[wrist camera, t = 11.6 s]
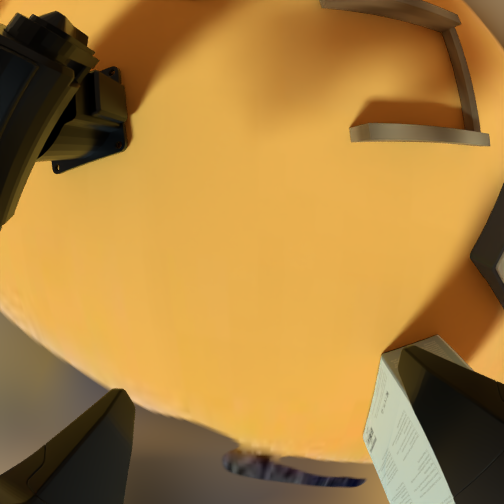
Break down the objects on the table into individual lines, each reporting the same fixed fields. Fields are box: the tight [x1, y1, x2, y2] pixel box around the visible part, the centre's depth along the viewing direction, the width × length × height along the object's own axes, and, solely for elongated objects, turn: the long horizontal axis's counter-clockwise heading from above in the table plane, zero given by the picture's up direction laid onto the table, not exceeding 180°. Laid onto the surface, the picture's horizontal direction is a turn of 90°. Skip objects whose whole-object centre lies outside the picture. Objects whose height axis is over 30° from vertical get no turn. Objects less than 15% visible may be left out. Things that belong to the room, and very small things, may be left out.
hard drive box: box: [363, 335, 473, 504], centre depth 15 cm, size 16×8×20 cm, turn 9°
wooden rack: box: [319, 0, 490, 146], centre depth 13 cm, size 13×12×3 cm
